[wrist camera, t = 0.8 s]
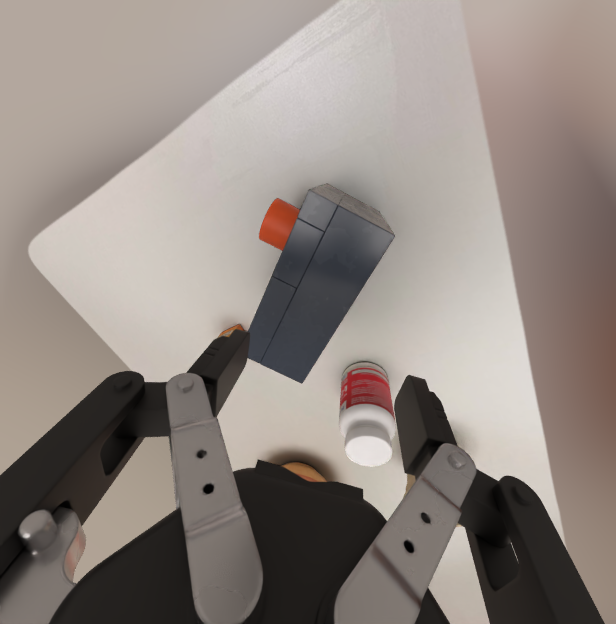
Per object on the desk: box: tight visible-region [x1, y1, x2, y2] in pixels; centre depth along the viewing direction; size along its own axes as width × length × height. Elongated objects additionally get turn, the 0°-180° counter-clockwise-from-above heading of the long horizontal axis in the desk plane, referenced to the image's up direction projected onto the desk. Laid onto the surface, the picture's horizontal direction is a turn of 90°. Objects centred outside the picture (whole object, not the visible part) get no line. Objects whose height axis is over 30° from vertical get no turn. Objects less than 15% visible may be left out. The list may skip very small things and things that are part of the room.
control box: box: [248, 184, 395, 383], centre depth 25 cm, size 14×6×12 cm, turn 155°
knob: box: [259, 198, 300, 251], centre depth 23 cm, size 4×3×4 cm
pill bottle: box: [339, 362, 396, 467], centre depth 32 cm, size 6×6×11 cm
